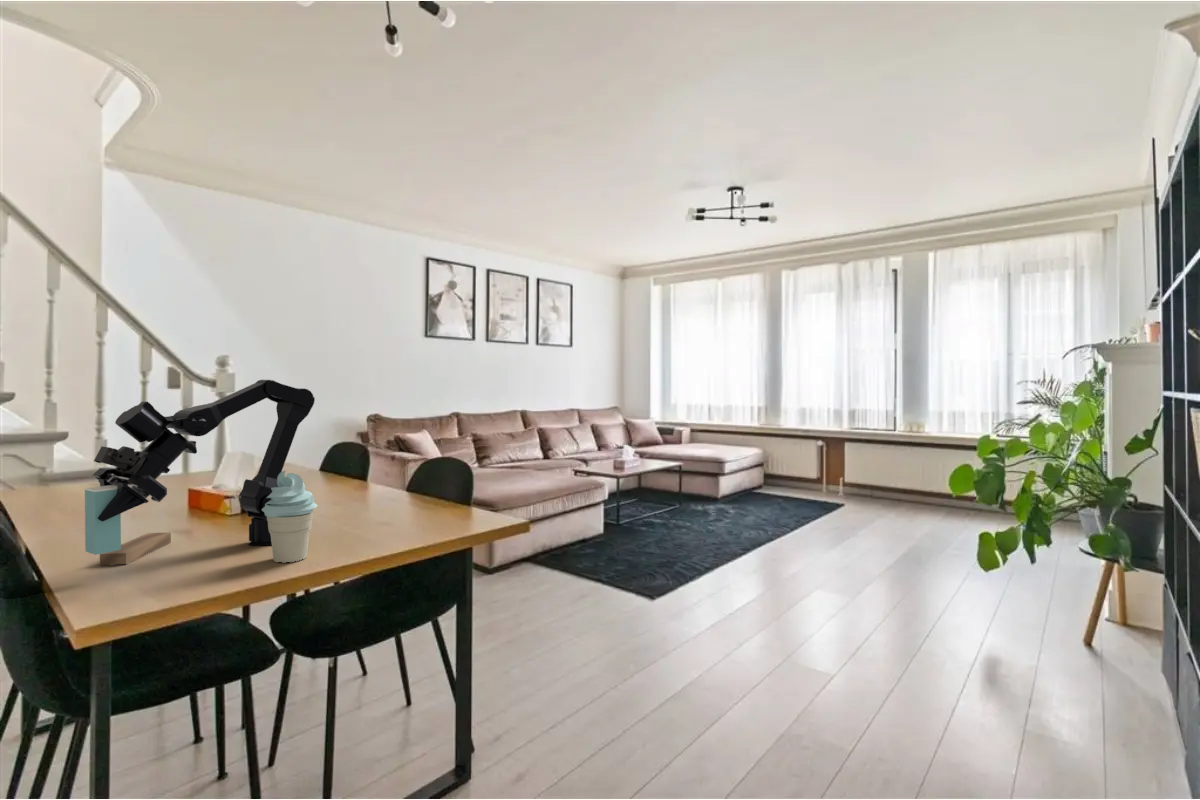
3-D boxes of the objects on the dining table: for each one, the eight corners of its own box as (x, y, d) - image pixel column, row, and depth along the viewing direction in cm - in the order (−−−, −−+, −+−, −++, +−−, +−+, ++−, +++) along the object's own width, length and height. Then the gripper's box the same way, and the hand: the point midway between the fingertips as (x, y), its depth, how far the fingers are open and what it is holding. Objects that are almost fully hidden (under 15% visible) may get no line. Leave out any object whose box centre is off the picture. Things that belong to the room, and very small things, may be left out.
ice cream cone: (318, 561, 134) (318, 471, 134) (261, 568, 129) (261, 474, 128) (316, 550, 143) (316, 466, 143) (262, 555, 138) (262, 468, 137)
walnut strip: (170, 542, 147) (170, 532, 147) (126, 564, 130) (125, 553, 130) (148, 543, 147) (148, 532, 146) (99, 565, 129) (99, 553, 129)
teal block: (110, 546, 123) (110, 485, 122) (120, 549, 121) (120, 487, 120) (85, 551, 119) (84, 488, 119) (95, 554, 117) (94, 490, 117)
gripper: (104, 429, 127) (36, 489, 118) (148, 434, 118) (79, 499, 109) (147, 462, 134) (86, 521, 125) (192, 469, 125) (130, 533, 116)
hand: (94, 518), depth 118 cm, fingers closed on teal block, 4 cm apart
